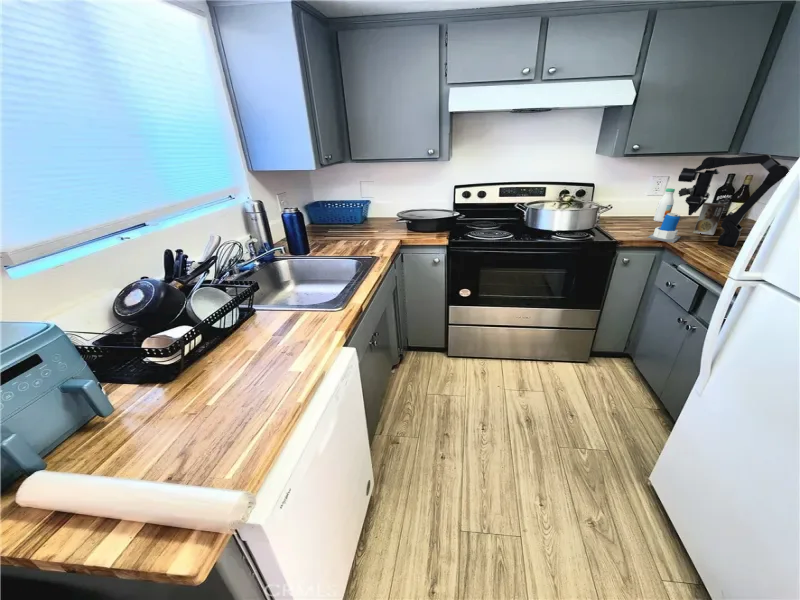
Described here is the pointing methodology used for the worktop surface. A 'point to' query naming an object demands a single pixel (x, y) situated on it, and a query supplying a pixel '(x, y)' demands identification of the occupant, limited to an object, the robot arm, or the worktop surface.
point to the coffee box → (709, 218)
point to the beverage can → (670, 222)
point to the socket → (665, 235)
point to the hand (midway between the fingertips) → (691, 213)
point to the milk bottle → (664, 205)
